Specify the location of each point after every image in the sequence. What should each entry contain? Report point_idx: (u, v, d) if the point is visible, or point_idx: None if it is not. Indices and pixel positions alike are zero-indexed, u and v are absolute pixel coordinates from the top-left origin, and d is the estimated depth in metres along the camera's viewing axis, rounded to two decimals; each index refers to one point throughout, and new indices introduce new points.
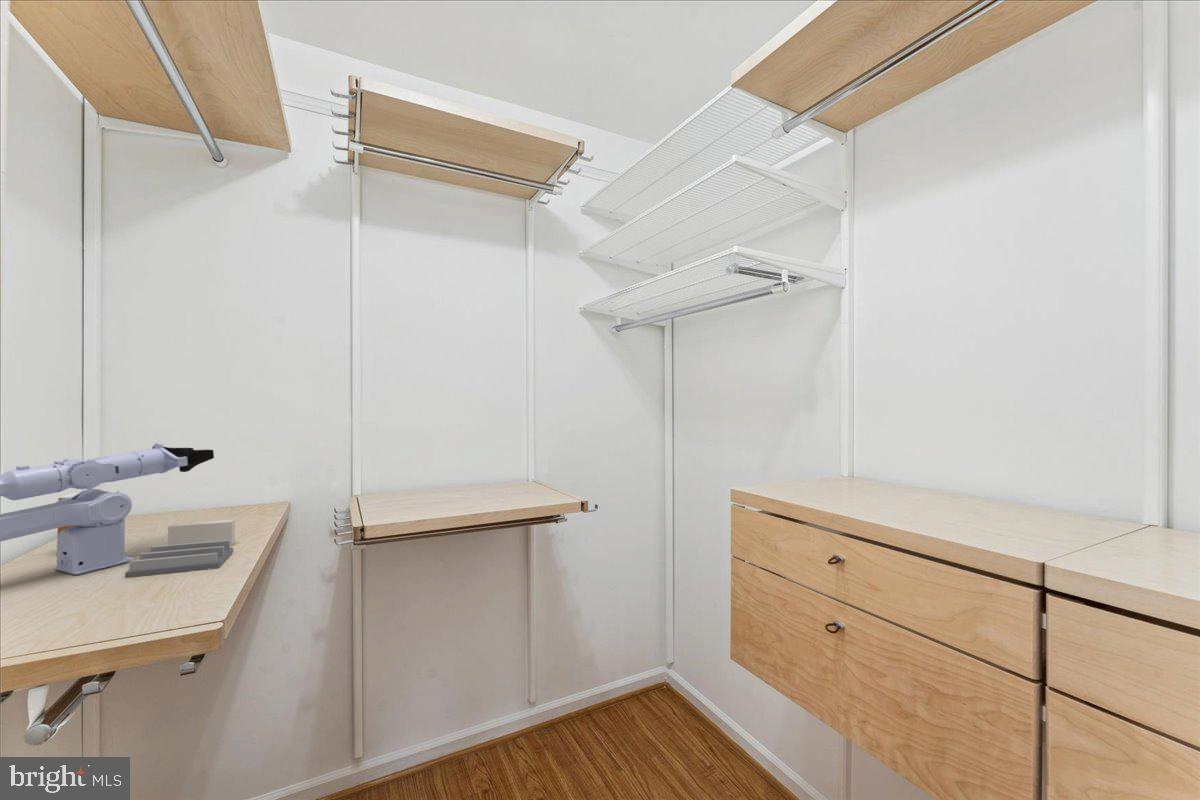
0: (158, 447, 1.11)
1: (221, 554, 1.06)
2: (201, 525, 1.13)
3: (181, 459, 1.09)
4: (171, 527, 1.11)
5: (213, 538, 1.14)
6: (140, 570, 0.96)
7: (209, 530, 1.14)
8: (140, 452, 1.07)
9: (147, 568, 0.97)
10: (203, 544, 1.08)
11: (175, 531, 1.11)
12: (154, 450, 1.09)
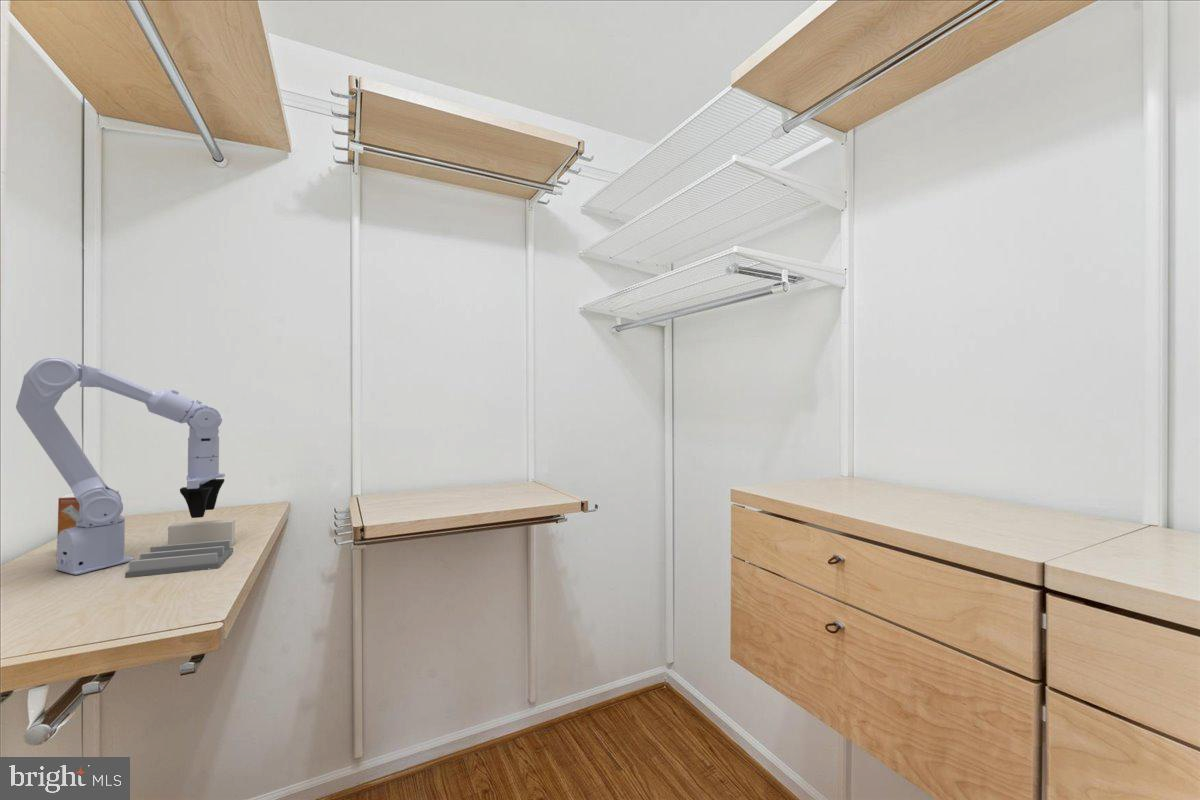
0: (218, 474, 1.15)
1: (221, 554, 1.06)
2: (201, 525, 1.13)
3: (196, 483, 1.08)
4: (171, 527, 1.11)
5: (213, 538, 1.14)
6: (140, 570, 0.96)
7: (209, 530, 1.14)
8: (216, 460, 1.14)
9: (147, 568, 0.97)
10: (203, 544, 1.08)
11: (175, 531, 1.11)
12: (215, 470, 1.14)
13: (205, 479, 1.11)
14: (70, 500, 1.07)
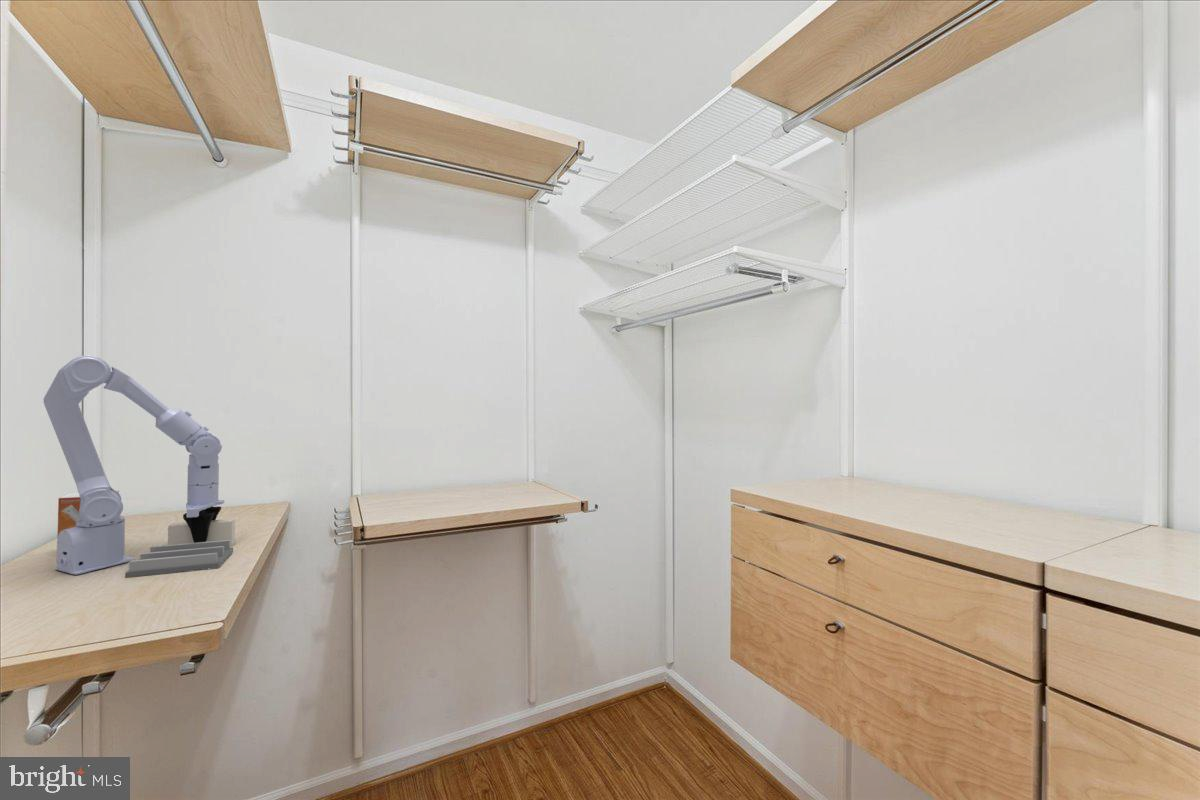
0: (218, 501, 1.15)
1: (221, 554, 1.06)
2: None
3: (195, 511, 1.08)
4: (171, 526, 1.11)
5: (213, 537, 1.14)
6: (140, 570, 0.96)
7: (209, 529, 1.14)
8: (215, 487, 1.14)
9: (147, 568, 0.97)
10: (203, 544, 1.08)
11: (175, 530, 1.11)
12: (215, 497, 1.14)
13: (204, 507, 1.11)
14: (70, 500, 1.07)
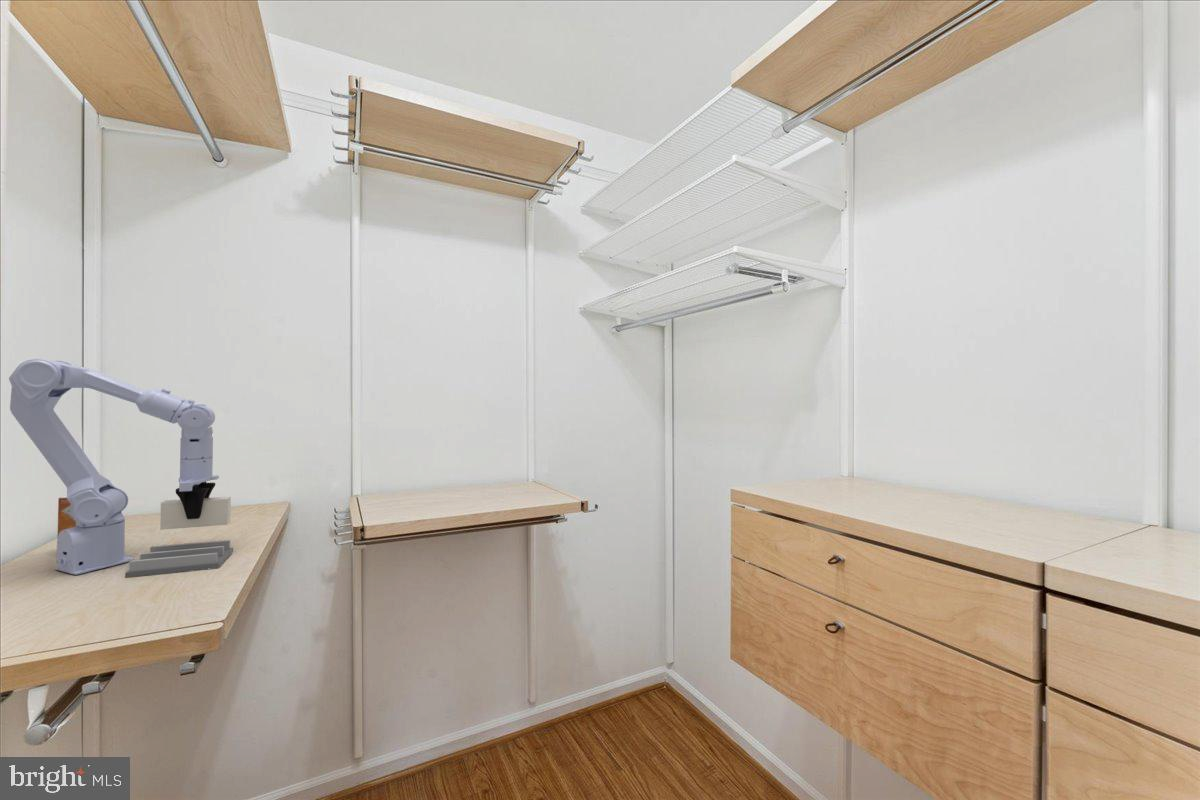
0: (212, 476, 1.11)
1: (221, 554, 1.06)
2: None
3: (189, 485, 1.03)
4: (164, 503, 1.06)
5: (208, 515, 1.10)
6: (140, 570, 0.96)
7: (203, 507, 1.09)
8: (209, 461, 1.10)
9: (147, 568, 0.97)
10: (203, 544, 1.08)
11: (168, 508, 1.07)
12: (209, 472, 1.10)
13: (198, 481, 1.06)
14: None
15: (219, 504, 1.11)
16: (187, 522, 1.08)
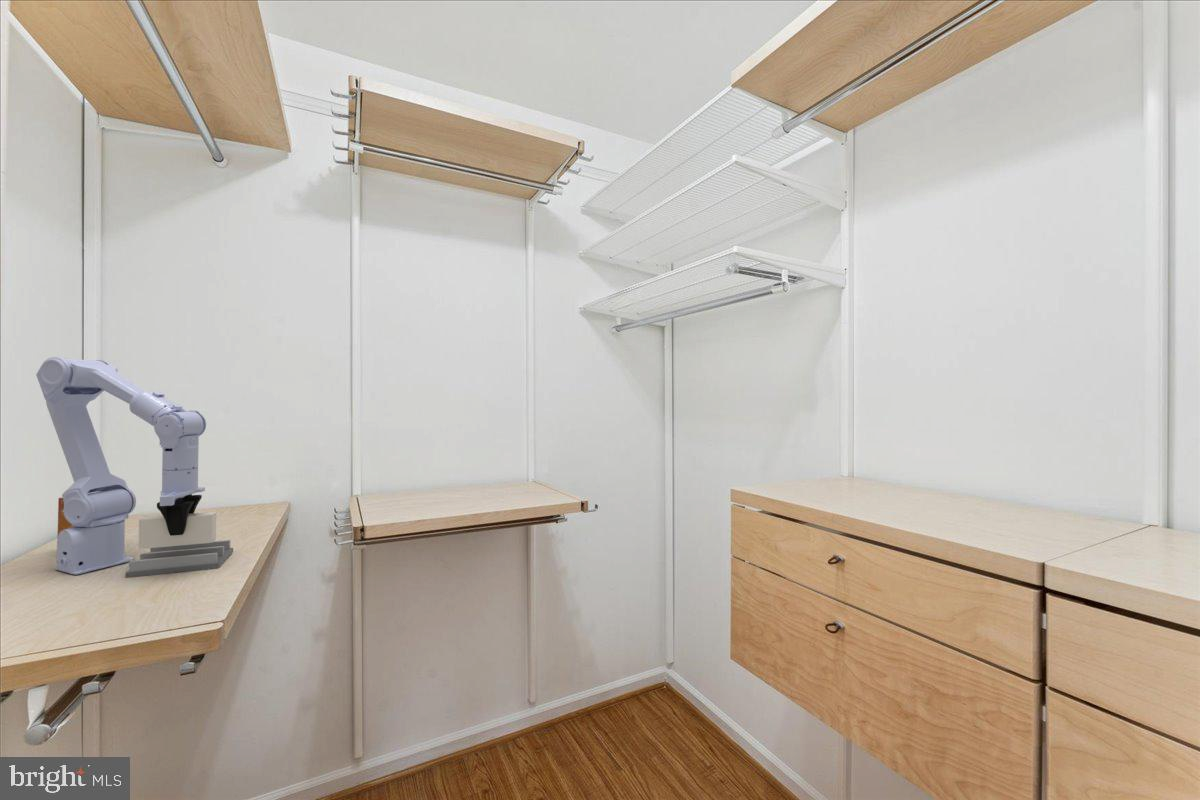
0: (197, 488, 1.02)
1: (221, 554, 1.06)
2: None
3: (170, 499, 0.95)
4: (142, 520, 0.98)
5: (191, 533, 1.01)
6: (140, 570, 0.96)
7: (186, 524, 1.00)
8: (194, 472, 1.01)
9: (147, 568, 0.97)
10: (203, 544, 1.08)
11: (147, 525, 0.98)
12: (194, 484, 1.01)
13: (181, 494, 0.97)
14: None
15: (203, 520, 1.02)
16: (168, 540, 0.99)
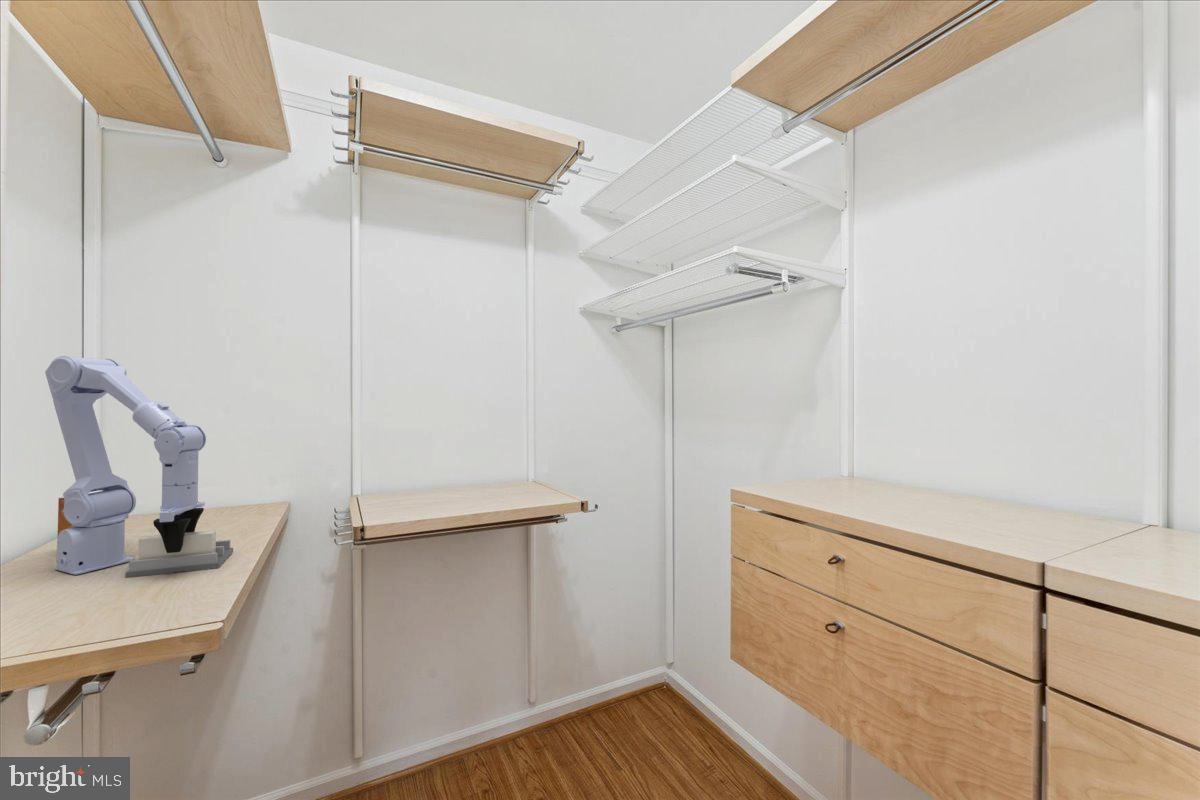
0: (197, 503, 1.02)
1: (221, 554, 1.06)
2: None
3: (170, 515, 0.95)
4: (142, 540, 0.98)
5: (190, 552, 1.01)
6: (140, 570, 0.96)
7: (185, 543, 1.00)
8: (194, 487, 1.01)
9: (147, 568, 0.97)
10: None
11: (147, 545, 0.98)
12: (194, 499, 1.01)
13: (181, 510, 0.98)
14: None
15: (203, 539, 1.02)
16: None
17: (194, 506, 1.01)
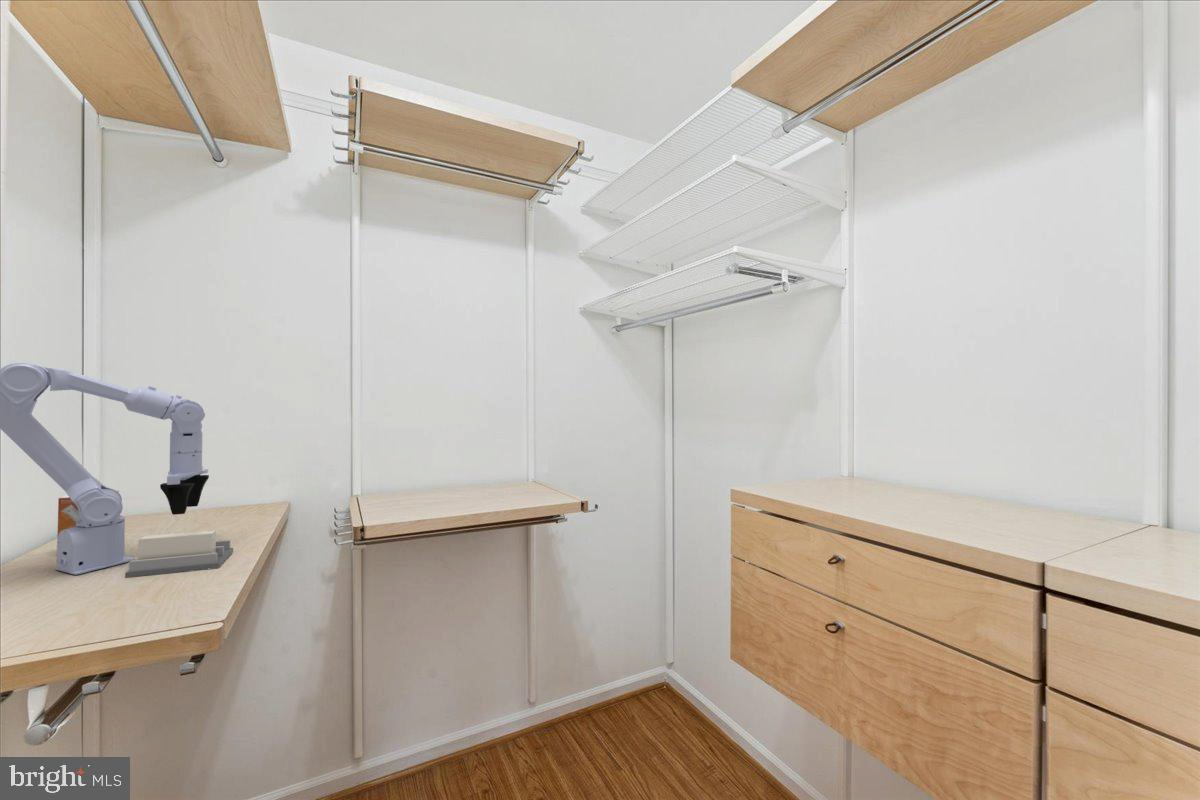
0: (201, 470, 1.12)
1: (221, 554, 1.06)
2: (177, 537, 1.00)
3: (176, 478, 1.05)
4: (142, 540, 0.98)
5: (190, 552, 1.01)
6: (140, 570, 0.96)
7: (185, 543, 1.00)
8: (198, 455, 1.12)
9: (147, 568, 0.97)
10: None
11: (147, 545, 0.98)
12: (198, 466, 1.12)
13: (186, 475, 1.08)
14: (70, 500, 1.07)
15: (203, 539, 1.02)
16: None
17: (198, 472, 1.11)
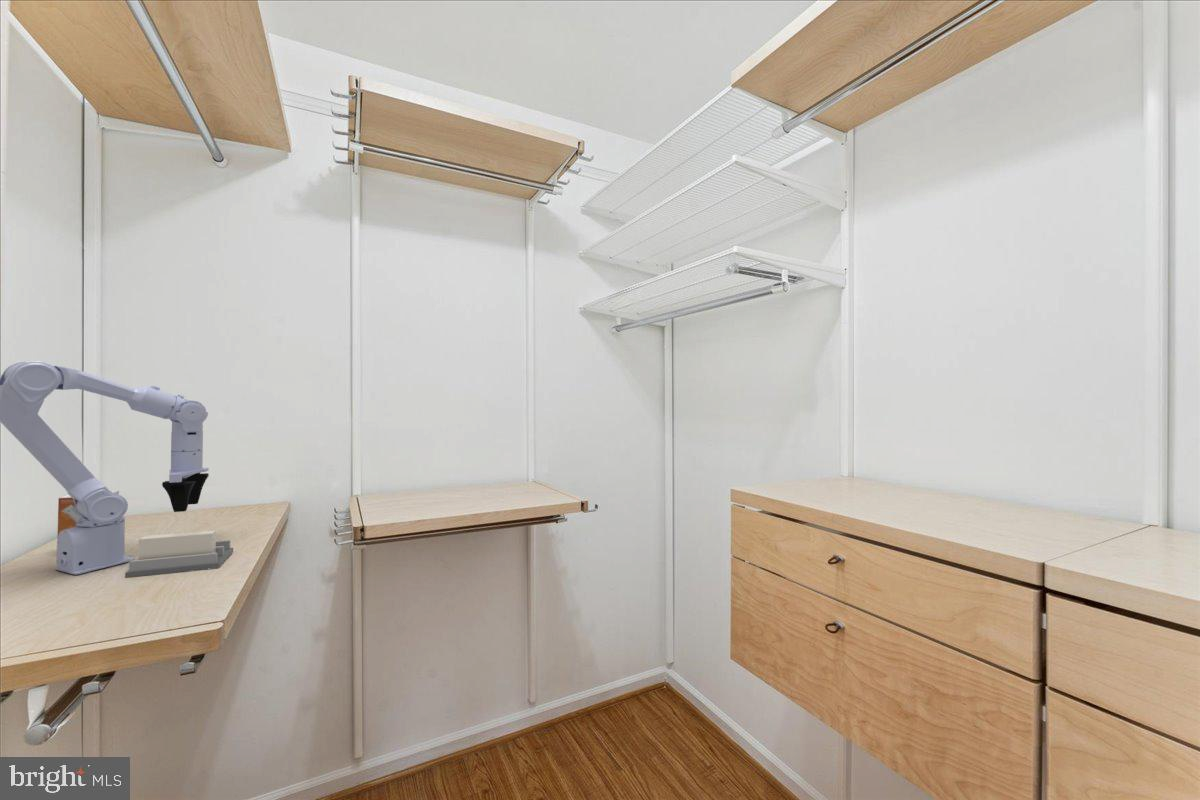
0: (202, 468, 1.15)
1: (221, 554, 1.06)
2: (177, 537, 1.00)
3: (178, 476, 1.08)
4: (142, 540, 0.98)
5: (190, 552, 1.01)
6: (140, 570, 0.96)
7: (185, 543, 1.00)
8: (199, 454, 1.14)
9: (147, 568, 0.97)
10: None
11: (147, 545, 0.98)
12: (199, 464, 1.14)
13: (188, 473, 1.10)
14: (70, 500, 1.07)
15: (203, 539, 1.02)
16: None
17: (199, 470, 1.14)
